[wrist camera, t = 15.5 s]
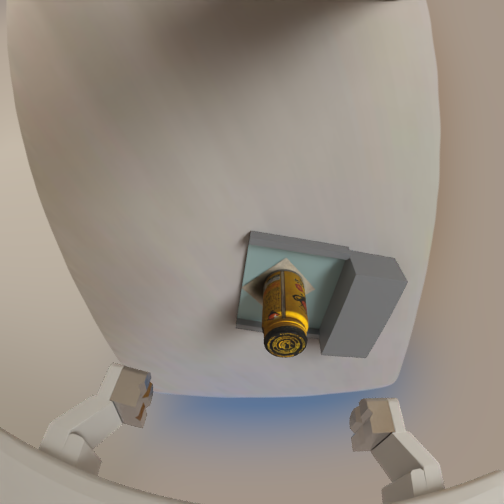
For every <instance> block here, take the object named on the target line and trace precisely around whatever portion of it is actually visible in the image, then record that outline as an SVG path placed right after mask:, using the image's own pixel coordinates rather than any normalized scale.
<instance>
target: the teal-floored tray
mask: <svg viewBox="0 0 504 504" xmlns="http://www.w3.org/2000/svg"><path fill="white" fill-rule="evenodd" d="M285 258H287V259H288V260H289V261H290V262H291V263H292V264H293V265H294V266H295V267H296V268H297V269H298V271H299V272H300V273H301V274H302V275H303V276H304V277H305V278H306V279H307V280H308V282H309V283H310V284H311V285H312V286H313V287H314V288H315V290H313V291H311V292H309V293H308V294H306V295H305V296H306V307H307V315H308V325H309V326H308V330H307V335H306V337H307V338H315V339H318V338H319V341H320V349H321V355H328V356H341V357H356V358H366V357H367V356H368V354H369V352H370V351H371V349H372V347H373V346H374V344H375V342H376V341H377V339H378V337H379V335H380V334H381V332H382V330H383V328H384V327H385V325H386V323H387V321H388V319H389V318H390V316H391V314H392V312H393V310H394V308H395V306H396V304H397V303H398V301H399V299H400V297H401V295H402V293H403V291H404V289H405V287H406V285H407V283H408V281H407V280H406V278H405V276H404V274H403V272H402V270H401V269H400V267H399V265H398V263H397V262H396V260H395V258H390V257H384V256H379V255H373V254H368V253H362V252H356V251H350V250H349V248H348V247H345V246H340V245H334V244H328V243H322V242H316V241H310V240H305V239H299V238H293V237H286V236H280V235H274V234H268V233H262V232H256V231H251V234H250V240H249V246H248V252H247V259H246V265H245V271H244V277H243V284H242V287H243V286H245V285H246V284H248V283H249V282H250V281H252V280H253V279H255V278H257V277H258V276H260V275H261V274H262V273H264V272H265V271H267V270H268V269H270V268H271V267H273V266H275V265H276V264H277V263H279V262H281V261H282V260H284V259H285ZM262 309H263V306H262V305H261V304H260V303H258V302H257V301H256V300H255V299H254V298H253V297H252V296H251V295H250V294H249V293H247V292H246V291H245V290H244V289H243V288H242V290H241V296H240V302H239V309H238V315H237V321H236V328H238V329H244V330H251V331H258V332H262V327H261V326H262Z"/></svg>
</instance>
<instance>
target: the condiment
mask: <svg viewBox="0 0 504 504" xmlns="http://www.w3.org/2000/svg"><path fill="white" fill-rule="evenodd" d="M242 288H243V289H244V290H245V291H246V292H247V293H249V294H250V295H251V296H252V297H253V298H254V299H255V300H256V301H257V302H258V303H260V304H261V305H262V306H263V309H262V326H261V327H262V332H263V333H264V345H265V348H266V350H267V351H268V352H269V353H270V354H272V355H274V356H278V357H293V356H295V355H298V354H299V353H301V352H302V351H303V350H304V349H305V348H306V345H307V337H306V335H307V330H308V326H309V325H308V315H307V307H306V296H305V295H306V294H308V293H309V292H311V291H313V290H315V288H314V287H313V286H312V285H311V284H310V283H309V282H308V280H307V279H306V278H305V277H304V276H303V275H302V274H301V273H300V272H299V271H298V269H297V268H296V267H295V266H294V265H293V264H292V263H291V262H290V261H289V260H288V259H287V258H285V259H284V260H282V261H281V262H279V263H277V264H276V265H275V266H273V267H271V268H270V269H268V270H267V271H265V272H264V273H262V274H261V275H260V276H258V277H257V278H255V279H253V280H252V281H250V282H249V283H248V284H246V285H245V286H243V287H242Z"/></svg>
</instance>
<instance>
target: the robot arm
mask: <svg viewBox="0 0 504 504" xmlns="http://www.w3.org/2000/svg"><path fill="white" fill-rule="evenodd" d="M150 380H151V374H150V372H146V371H142V370H138V369H134V368H130V367H127V366H124V365H120V364H116V363H112V364H111V365H110V366H109V368H108V371H107V373H106V375H105V377H104V379H103V382H102V384H101V386H100V388H99V391H98V393H97V395H96V396H94V395H92V396H91V397H89V398H87V399H86V400H85V401H83V402H81V403H80V404H78V405H77V406H75V407H74V408H72V409H70V410H69V411H67V412H66V413H64V414H63V415H61V416H59V417H58V418H56V419H55V420H53V421H51V422H50V424H49V426H48V428H47V431H46V433H45V435H44V437H43V440H42V442H41V445H40V447H39V449H37V448H35V447H33V446H31V445H29V444H27V443H26V442H24V441H22V440H20V439H19V438H17V437H15V436H14V435H12V434H10V433H9V432H7V431H6V430H4V429H2V428H1V427H0V504H199V503H193V502H188V501H183V500H177V499H173V498H168V497H164V496H160V495H156V494H152V493H148V492H145V491H141V490H138V489H134V488H131V487H128V486H125V485H122V484H119V483H116V482H113V481H109V480H107V479H104V478H101V477H99V476H98V472H99V469H100V465H101V459H100V458H99V457H98V456H97V454H96V453H95V452H94V451H93V449H94V448H95V447H96V446H97V445H98V444H100V443H101V442H102V441H103V440H104V439H106V438H107V437H108V436H109V435H111V434H112V433H113V432H114V431H115V430H117V429H118V428H119V427H120V426H121V425H122V423H124V424H128V425H132V426H136V427H139V428H143V426H144V423H145V420H146V416H147V413H146V408H147V407H148V406H149V405H150V404H151V400H152V396H153V384H152V383H151V382H150ZM350 429H351V430H352V431H353V432H354V434H353V436H352V437H351V440H352V448H353V451H371V453H372V454H373V456H374V457H375V459H376V460H377V461H378V463H379V464H380V466H381V467H382V468H383V470H384V471H385V473H386V474H387V476H388V477H389V478H390V480H391V481H392V483H391V484H389V485H387V486H385V487H384V488H383V489H382V500H383V504H504V472H503V471H502V470H496V471H493V472H491V473H488V474H486V475H483V476H481V477H478V478H476V479H473V480H470V481H467V482H465V483H462V484H459V485H456V486H453V487H450V488H447V489H445V487H444V482H443V477H442V472H441V468H440V464H439V463H438V461H437V460H435V458H434V457H433V456H432V455H431V454H430V453H429V452H428V451H427V450H426V449H425V448H424V447H423V446H422V445H421V444H420V442H419V441H417V439H416V438H415V437H414V436H413V435H412V434H411V433H410V432H409V431H406V429H405V425H404V421H403V417H402V413H401V409H400V405H399V401H398V399H397V398H368V399H367V398H366V399H362V400H361V401H360V402H359V406H358V407H356V408H354V410H353V411H352V413H351V416H350Z"/></svg>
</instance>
